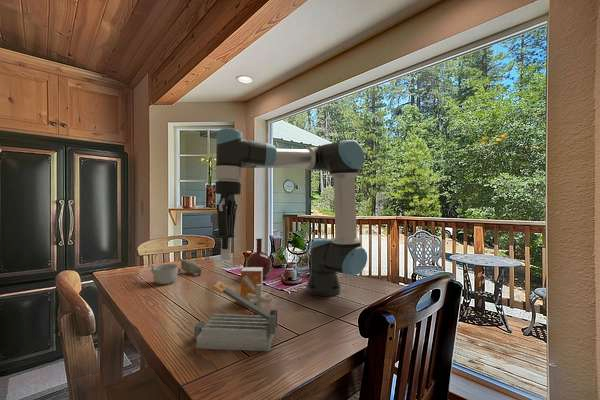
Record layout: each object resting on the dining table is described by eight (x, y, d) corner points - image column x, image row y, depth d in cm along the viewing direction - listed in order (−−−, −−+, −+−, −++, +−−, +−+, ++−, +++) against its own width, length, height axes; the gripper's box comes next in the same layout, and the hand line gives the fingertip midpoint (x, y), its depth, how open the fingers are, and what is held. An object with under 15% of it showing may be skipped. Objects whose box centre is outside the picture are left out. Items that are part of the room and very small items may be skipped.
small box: (240, 304, 112) (240, 270, 112) (242, 298, 118) (243, 266, 118) (261, 304, 112) (261, 270, 112) (262, 298, 119) (262, 266, 119)
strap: (274, 319, 86) (277, 315, 86) (272, 326, 81) (274, 322, 81) (217, 283, 87) (219, 280, 87) (211, 289, 82) (214, 284, 82)
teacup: (182, 282, 141) (182, 265, 141) (161, 287, 132) (161, 270, 132) (165, 277, 148) (165, 262, 148) (144, 282, 139) (144, 266, 139)
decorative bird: (196, 277, 150) (196, 263, 150) (176, 273, 158) (176, 259, 158) (204, 275, 155) (204, 261, 155) (184, 271, 163) (184, 257, 163)
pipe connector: (260, 320, 97) (260, 290, 97) (238, 314, 103) (238, 285, 103) (278, 311, 106) (278, 283, 106) (257, 305, 111) (257, 279, 111)
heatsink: (278, 331, 90) (278, 305, 90) (273, 351, 78) (273, 321, 78) (204, 328, 91) (205, 303, 91) (188, 348, 79) (188, 318, 79)
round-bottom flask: (246, 274, 156) (247, 237, 156) (271, 273, 158) (271, 237, 158) (244, 281, 143) (245, 240, 143) (271, 280, 145) (272, 240, 145)
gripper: (223, 182, 94) (220, 255, 94) (207, 179, 81) (205, 263, 81) (245, 183, 94) (243, 256, 94) (234, 179, 81) (231, 264, 81)
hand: (225, 259), depth 87 cm, fingers closed
